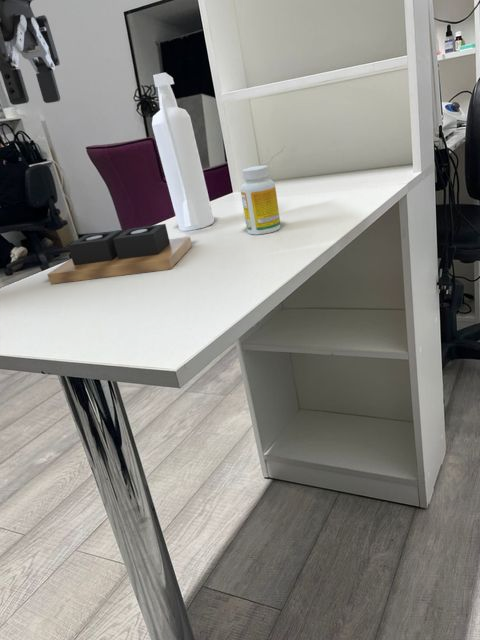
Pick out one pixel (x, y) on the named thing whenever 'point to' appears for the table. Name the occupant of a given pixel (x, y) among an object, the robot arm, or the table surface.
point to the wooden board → (122, 263)
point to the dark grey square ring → (94, 248)
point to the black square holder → (142, 242)
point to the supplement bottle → (259, 201)
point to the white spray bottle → (180, 159)
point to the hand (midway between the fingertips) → (37, 103)
